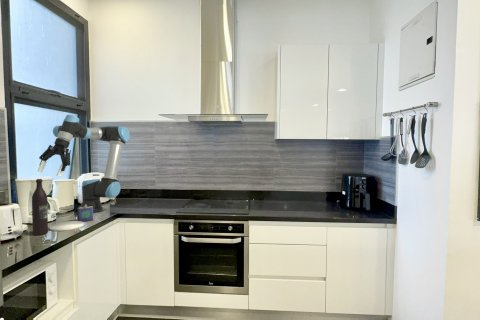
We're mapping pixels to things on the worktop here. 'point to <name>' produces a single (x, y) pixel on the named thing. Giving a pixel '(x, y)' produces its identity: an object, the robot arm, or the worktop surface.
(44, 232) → the wine bottle
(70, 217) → the worktop surface
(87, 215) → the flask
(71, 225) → the ceramic dish
